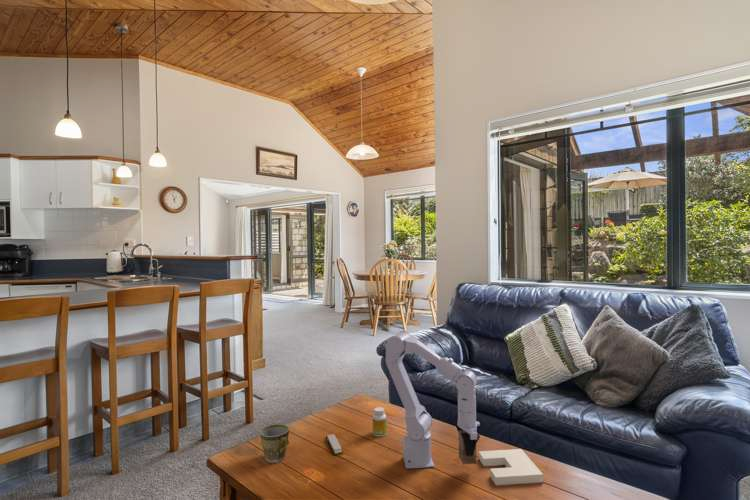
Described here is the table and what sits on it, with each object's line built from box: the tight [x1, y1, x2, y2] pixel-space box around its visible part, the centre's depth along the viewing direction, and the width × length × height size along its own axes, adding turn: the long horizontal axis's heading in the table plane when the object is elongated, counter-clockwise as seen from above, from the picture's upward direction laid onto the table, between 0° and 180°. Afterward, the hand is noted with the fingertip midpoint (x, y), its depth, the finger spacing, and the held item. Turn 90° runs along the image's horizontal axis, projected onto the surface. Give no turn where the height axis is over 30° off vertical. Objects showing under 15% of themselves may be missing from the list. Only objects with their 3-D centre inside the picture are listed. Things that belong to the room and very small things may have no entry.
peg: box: [458, 430, 477, 465], centre depth 132 cm, size 4×4×9 cm
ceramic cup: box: [259, 423, 290, 464], centre depth 142 cm, size 13×10×10 cm
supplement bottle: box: [372, 406, 388, 438], centre depth 160 cm, size 5×5×10 cm
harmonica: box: [325, 434, 344, 457], centre depth 152 cm, size 15×3×2 cm, turn 19°
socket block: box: [478, 448, 544, 486], centre depth 133 cm, size 15×16×2 cm
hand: (467, 451), depth 132 cm, fingers closed on peg, 4 cm apart
